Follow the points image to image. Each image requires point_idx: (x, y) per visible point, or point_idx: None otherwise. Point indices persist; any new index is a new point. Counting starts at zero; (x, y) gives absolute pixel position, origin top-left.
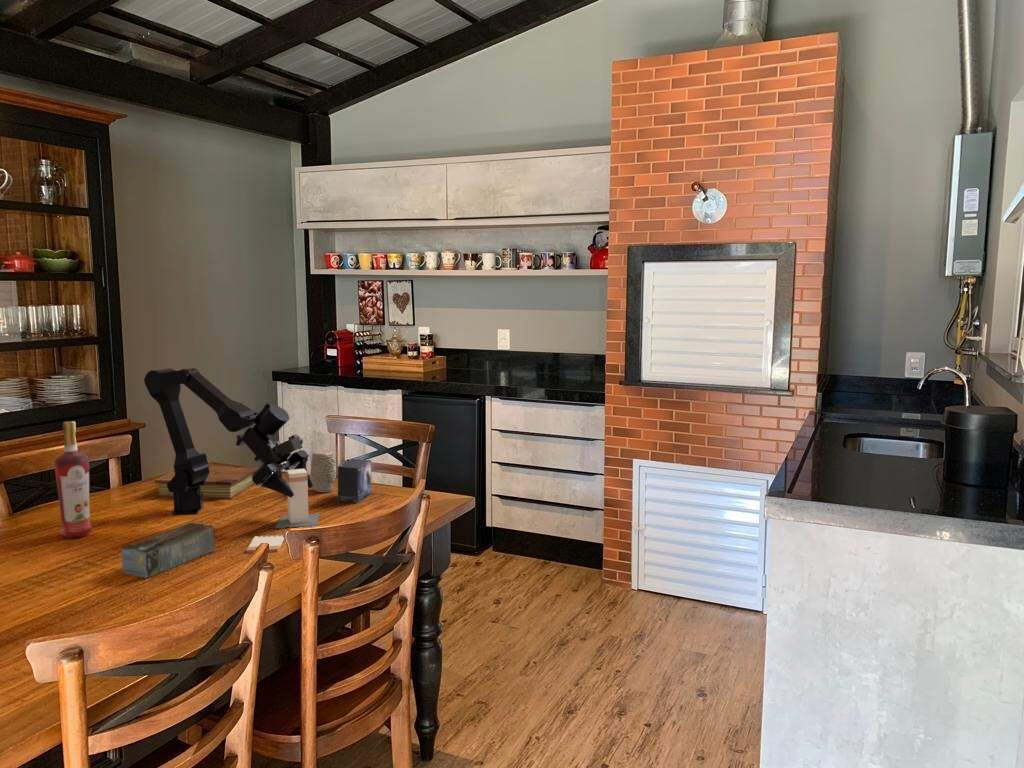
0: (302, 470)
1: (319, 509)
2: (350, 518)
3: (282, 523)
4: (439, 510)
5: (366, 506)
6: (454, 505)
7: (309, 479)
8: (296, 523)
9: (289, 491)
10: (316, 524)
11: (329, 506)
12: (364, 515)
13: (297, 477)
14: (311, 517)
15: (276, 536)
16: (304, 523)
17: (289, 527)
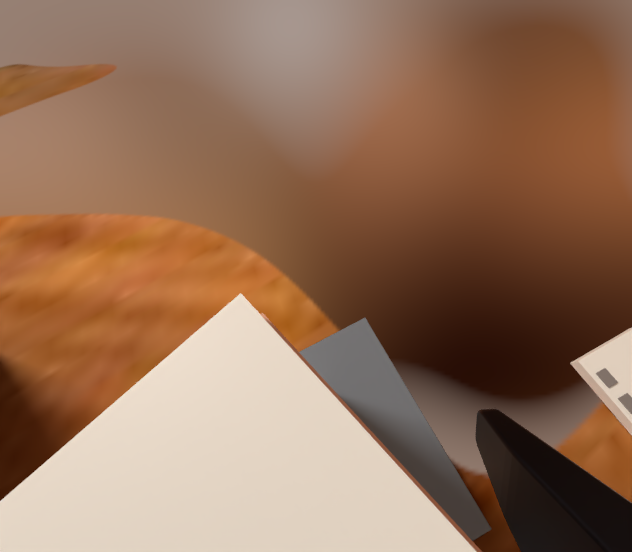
0: (90, 517)
1: None
2: (209, 256)
3: None
4: (84, 81)
5: (39, 287)
6: (34, 74)
7: None
8: (379, 434)
9: (548, 450)
10: (343, 330)
11: (34, 460)
12: (162, 231)
13: (386, 452)
14: None
15: (624, 388)
16: (361, 389)
17: (437, 441)
